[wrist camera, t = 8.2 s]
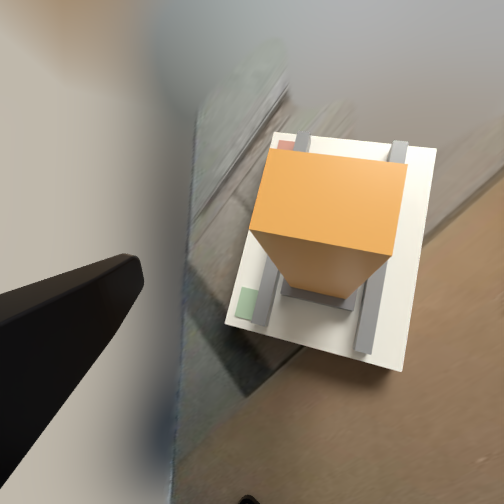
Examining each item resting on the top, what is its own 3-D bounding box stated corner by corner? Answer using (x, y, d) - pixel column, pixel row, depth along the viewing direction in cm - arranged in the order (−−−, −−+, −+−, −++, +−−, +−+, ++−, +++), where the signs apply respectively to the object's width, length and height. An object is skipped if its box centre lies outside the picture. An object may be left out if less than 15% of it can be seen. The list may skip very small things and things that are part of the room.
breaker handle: (351, 311, 17) (415, 286, 6) (282, 295, 18) (221, 246, 7) (361, 259, 18) (437, 145, 6) (293, 246, 19) (254, 127, 7)
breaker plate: (393, 367, 18) (408, 375, 15) (233, 323, 21) (218, 323, 18) (425, 165, 20) (444, 137, 17) (277, 148, 23) (271, 121, 20)
